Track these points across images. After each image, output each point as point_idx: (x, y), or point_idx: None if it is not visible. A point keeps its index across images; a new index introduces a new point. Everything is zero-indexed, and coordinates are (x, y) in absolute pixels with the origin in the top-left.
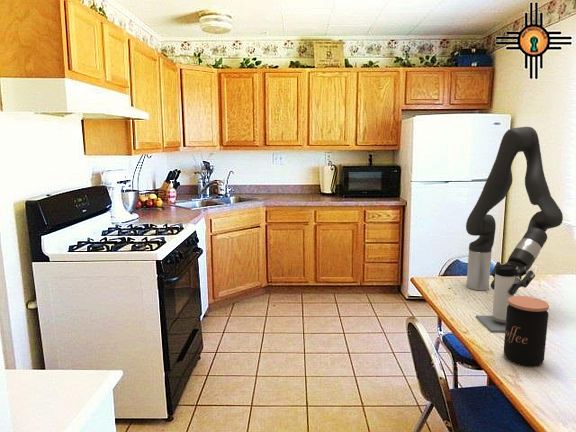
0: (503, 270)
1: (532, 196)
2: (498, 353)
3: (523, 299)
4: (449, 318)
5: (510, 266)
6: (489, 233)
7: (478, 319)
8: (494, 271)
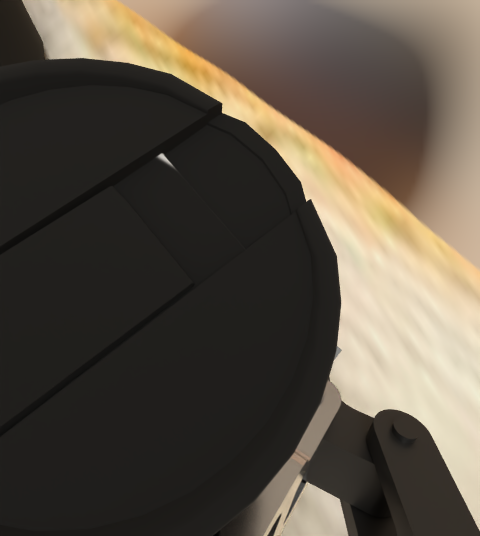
0: (64, 76)
1: None
2: (68, 54)
3: None
4: (413, 228)
5: (7, 521)
6: None
7: None
8: (415, 483)
